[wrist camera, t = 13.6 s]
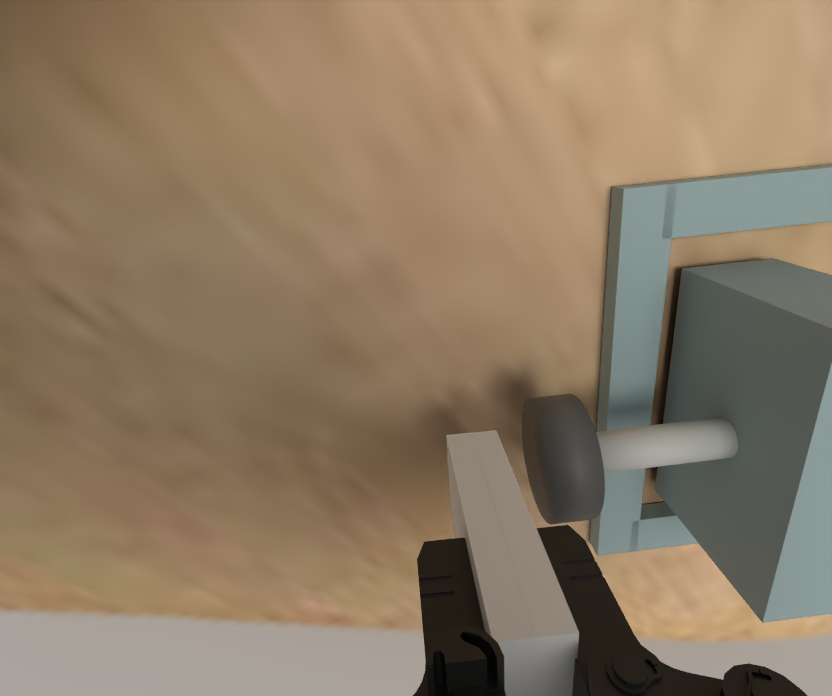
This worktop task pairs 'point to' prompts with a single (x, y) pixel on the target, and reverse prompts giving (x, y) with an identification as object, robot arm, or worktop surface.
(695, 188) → the vise
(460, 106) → the worktop surface
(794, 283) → the jaw
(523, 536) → the robot arm
